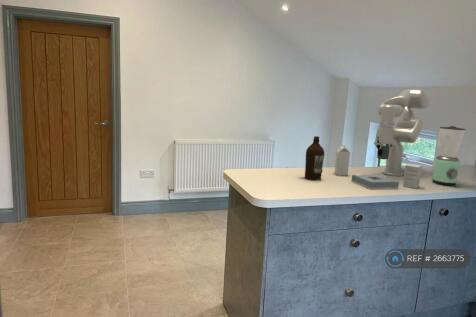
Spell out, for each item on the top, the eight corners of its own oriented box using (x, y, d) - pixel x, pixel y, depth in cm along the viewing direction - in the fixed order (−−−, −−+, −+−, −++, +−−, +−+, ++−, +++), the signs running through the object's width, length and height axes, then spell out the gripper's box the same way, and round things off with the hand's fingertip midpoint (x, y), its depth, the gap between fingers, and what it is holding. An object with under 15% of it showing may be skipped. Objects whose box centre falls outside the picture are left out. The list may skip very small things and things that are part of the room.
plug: (383, 157, 226) (384, 145, 225) (388, 159, 222) (389, 146, 220) (377, 157, 225) (378, 145, 223) (381, 159, 221) (383, 146, 219)
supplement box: (405, 184, 213) (408, 163, 211) (419, 187, 208) (422, 165, 206) (402, 186, 207) (405, 164, 205) (416, 189, 203) (419, 167, 201)
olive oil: (299, 177, 216) (303, 135, 212) (312, 175, 222) (316, 135, 218) (312, 181, 207) (316, 137, 203) (325, 179, 213) (329, 137, 209)
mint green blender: (463, 187, 213) (473, 128, 207) (441, 186, 212) (451, 127, 206) (443, 180, 232) (451, 125, 226) (423, 179, 231) (431, 124, 225)
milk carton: (345, 173, 234) (348, 144, 231) (347, 176, 227) (350, 146, 224) (334, 173, 235) (337, 144, 231) (336, 175, 228) (339, 145, 224)
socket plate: (377, 181, 218) (378, 173, 217) (398, 188, 201) (399, 180, 200) (351, 181, 213) (352, 173, 212) (370, 189, 196) (371, 181, 195)
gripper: (393, 125, 225) (390, 154, 229) (370, 124, 221) (367, 154, 224) (402, 126, 218) (398, 156, 222) (378, 126, 214) (374, 156, 217)
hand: (382, 154), depth 223 cm, fingers closed on plug, 4 cm apart
